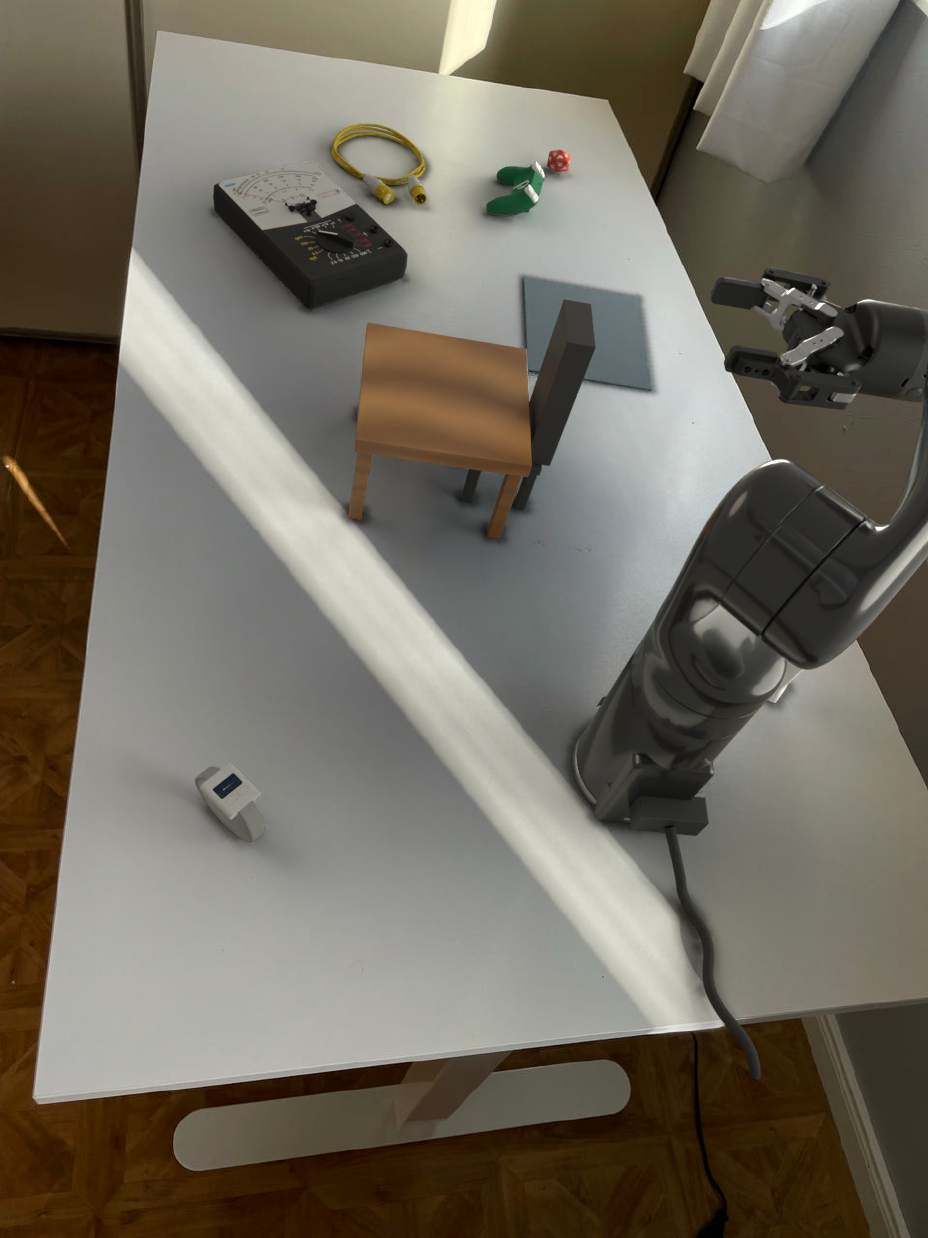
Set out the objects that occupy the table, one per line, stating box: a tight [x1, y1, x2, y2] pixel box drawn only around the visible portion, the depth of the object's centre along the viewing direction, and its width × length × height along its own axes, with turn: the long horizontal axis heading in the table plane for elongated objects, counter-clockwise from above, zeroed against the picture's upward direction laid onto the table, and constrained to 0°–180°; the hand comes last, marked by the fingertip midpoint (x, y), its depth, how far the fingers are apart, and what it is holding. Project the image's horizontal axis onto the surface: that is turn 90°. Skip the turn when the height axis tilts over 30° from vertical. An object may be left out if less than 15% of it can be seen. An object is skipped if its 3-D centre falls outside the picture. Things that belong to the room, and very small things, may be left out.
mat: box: [523, 276, 653, 391], centre depth 113 cm, size 16×14×1 cm
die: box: [546, 148, 572, 174], centre depth 130 cm, size 3×3×3 cm
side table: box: [347, 322, 532, 539], centre depth 92 cm, size 15×15×10 cm
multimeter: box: [212, 159, 408, 309], centre depth 110 cm, size 13×19×5 cm
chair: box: [461, 299, 596, 511], centre depth 89 cm, size 7×6×20 cm
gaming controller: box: [485, 161, 545, 216], centre depth 124 cm, size 9×4×6 cm
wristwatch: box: [194, 762, 266, 843], centre depth 71 cm, size 6×3×5 cm, turn 48°
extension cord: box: [331, 123, 427, 206], centre depth 123 cm, size 12×16×2 cm
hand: (720, 322), depth 82 cm, fingers open, 8 cm apart
